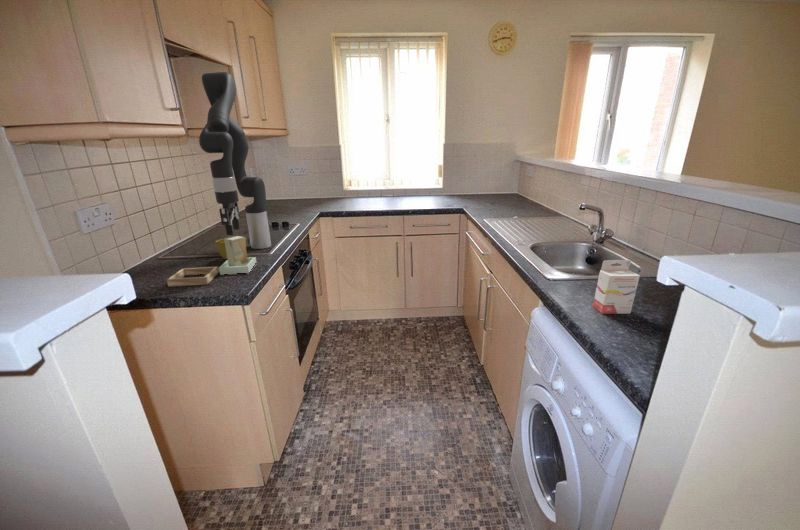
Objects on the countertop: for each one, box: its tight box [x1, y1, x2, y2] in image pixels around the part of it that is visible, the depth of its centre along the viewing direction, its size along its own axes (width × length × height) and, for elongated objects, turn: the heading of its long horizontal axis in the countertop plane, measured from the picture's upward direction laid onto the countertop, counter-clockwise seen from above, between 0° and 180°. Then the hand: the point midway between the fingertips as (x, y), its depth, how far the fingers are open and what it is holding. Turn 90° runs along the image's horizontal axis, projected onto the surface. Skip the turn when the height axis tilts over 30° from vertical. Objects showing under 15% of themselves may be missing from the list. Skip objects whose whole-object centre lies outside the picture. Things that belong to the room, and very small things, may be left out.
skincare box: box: [223, 235, 248, 267], centre depth 135 cm, size 6×4×12 cm
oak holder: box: [166, 266, 220, 287], centre depth 126 cm, size 12×13×2 cm
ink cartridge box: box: [592, 259, 641, 315], centre depth 96 cm, size 9×5×15 cm, turn 92°
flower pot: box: [214, 236, 247, 260], centre depth 147 cm, size 9×9×9 cm
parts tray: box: [218, 256, 257, 276], centre depth 136 cm, size 12×11×3 cm
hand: (233, 232), depth 132 cm, fingers open, 8 cm apart
